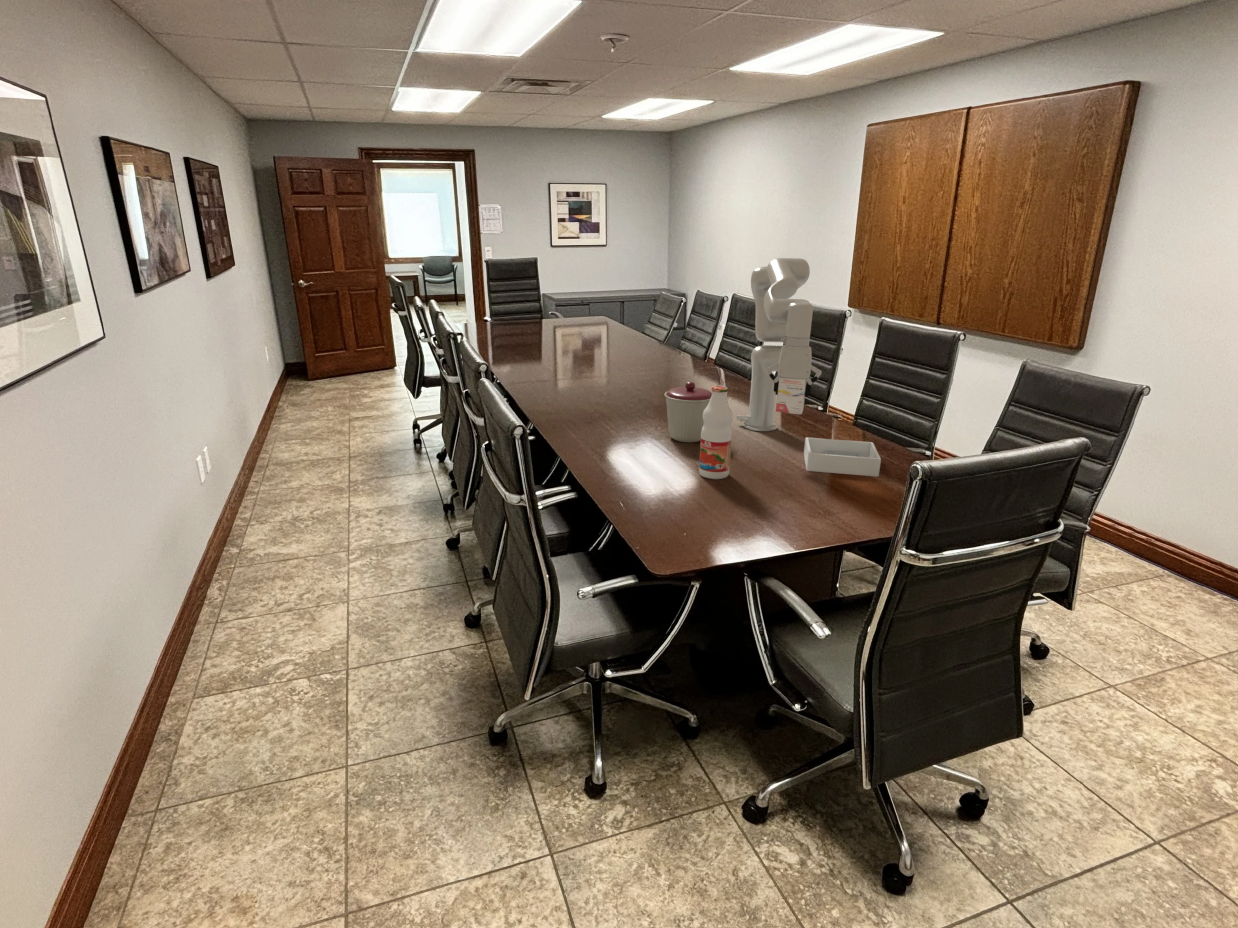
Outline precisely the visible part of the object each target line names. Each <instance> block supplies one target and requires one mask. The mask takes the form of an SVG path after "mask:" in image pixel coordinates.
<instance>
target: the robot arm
mask: <svg viewBox="0 0 1238 928" xmlns="http://www.w3.org/2000/svg"><path fill="white" fill-rule="evenodd" d="M810 270H811V269H810V265H809V263H808V262H807V260H806V259H804V258H800V257H799V258H797V257H795V258H793V257H792V258H791V257H786V258H785V257H779V258H774V259H773V260H771V261H770V262H769V263H768V265H767V266H759V267H757V268H755V269H754V270H753V271H752V272H751V276H750V290H751V293H752V295H753V299H754V305H755V325H754V328H755V331H754V333H755V337H756V339H757V340H758V341H759V342H763V343H783V345H772V344H770V345H765V344H764V345H758V346H756V347H755V348H753V350H752V352H751V353H750V362H751V381H750V382H751V383H750V394H749V406H748V407H749V408H748V413H747V414H744V415H740V414H739V415H738V414H737V415H736V421H739V422H744V423H743V427H744V428H745V429H747V430H751V431H755V432H772V431H775V430H777V428H778V426H777V423H775V422H774V418H775V417H774V415H775V409H776V406H775V405H776V399H777V394H778V386H779V378H780V377H781V378H792V379H806V381H807V383H806V391H805V398H808V397H809V395H810V394H811V391H812V385H813V384H814V383H815V382H816V381H818V379H820V377H821V375H822V373H823V372H822V370H821V369H819V368H818V367H816V366H814V365H812V347H811V346H810V340H811V337H810V336H811V330H812V320H813V312H814V307H813V304H812V303H810V301H809V300H807V299H804V298H803V299H802V298H800V299H799V298H792V297H793V296H794V295H796V293H797V291H798V290H799V288H802V286H803V285H805V284H806V283H807V281H808V280H809V277H810V272H811V271H810ZM811 371H812V372H814V373H815V375H813V377H812V378H811ZM774 372H777V374H776V375H775V374H774Z"/></svg>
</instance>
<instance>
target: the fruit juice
mask: <svg viewBox="0 0 1238 928" xmlns="http://www.w3.org/2000/svg"><path fill="white" fill-rule="evenodd" d="M710 389H711V390H710V392H711V393H712V396H711V399H710V401H709V403H708V405H707V407H706V408H705V410H704V412H703V421H704V425H703V427H702V431H701V441H700V445H699V462H698V464H699V465H698V474H699V476H701V477H703V478H706V479H709V480H711V479H712V480H722V479H723V480H724V479H725V478H728V476H729V473H730V464H731V454H732V453H731V452H732V438H733V437H732V436H733V430H732V427H731V426H732V425H731V424H732V422H733V419H734V418H733V417H734V414H733V411H732V409H731V407H730V405H729V401H728V397H727V394H728V392H729V388H728V387H727V386H725V385H713V386H711V388H710Z"/></svg>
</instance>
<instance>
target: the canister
mask: <svg viewBox="0 0 1238 928" xmlns="http://www.w3.org/2000/svg"><path fill="white" fill-rule="evenodd" d="M711 396H712V392H711V390H708V389H707V388H701V387H696V384H695V383H694V381H687V382H686V383H685V385H684V386H679V387H678V386H677V387H674V388H670V389H669V390H667V391H665V393H664V397H665V400H666V413H667V414H666V415H667V426H668V433H669V436H670V438H672V439H673V440H675V441H678V442H682V443H697V442H701V431H702V427H703V425H704V421H703V412H704V410H705V408H706V407H707V405H708V403H709V401H710V399H711Z"/></svg>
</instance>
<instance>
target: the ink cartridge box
mask: <svg viewBox="0 0 1238 928" xmlns="http://www.w3.org/2000/svg"><path fill="white" fill-rule="evenodd" d="M778 382H779V386H778V394H777V395H776V402H775V405H776V406H775V412H778V413H785V414H795V415H802V414H803V411H804V405H805V398H806V397H805V392H806V383H807V381H806V379H792V378H781V377H780V378H779V381H778Z"/></svg>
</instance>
